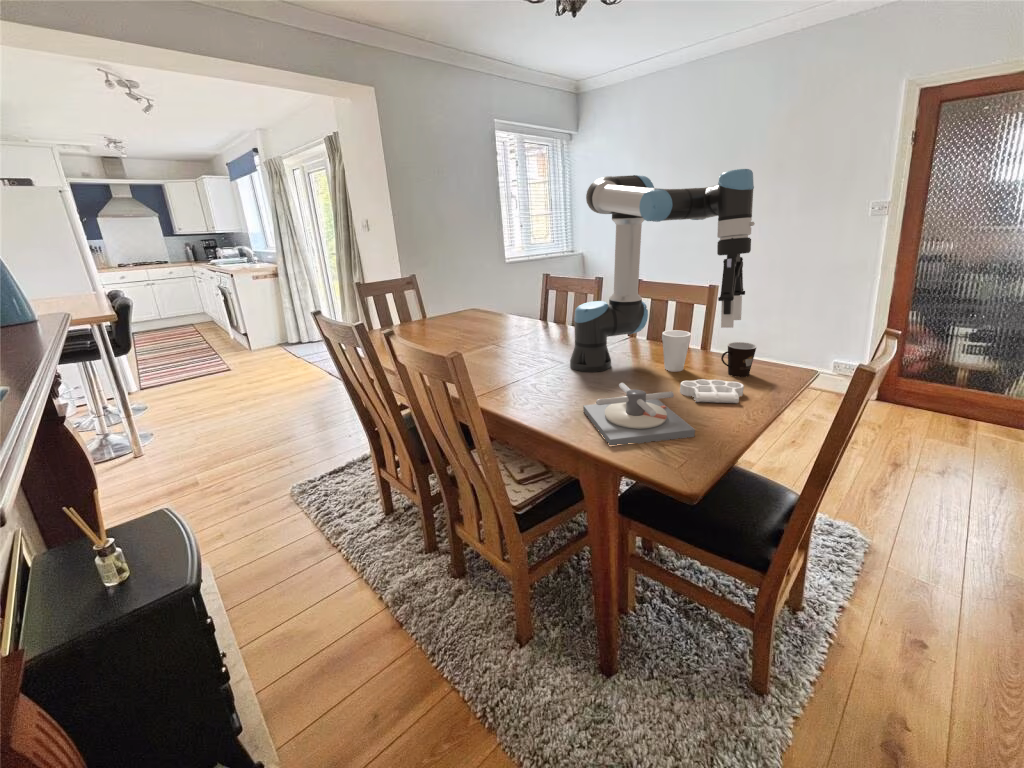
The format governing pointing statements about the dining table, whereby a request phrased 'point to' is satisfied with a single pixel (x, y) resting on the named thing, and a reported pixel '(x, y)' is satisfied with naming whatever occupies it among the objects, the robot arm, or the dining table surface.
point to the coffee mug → (739, 358)
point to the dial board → (623, 435)
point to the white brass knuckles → (712, 390)
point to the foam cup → (675, 349)
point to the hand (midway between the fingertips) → (731, 323)
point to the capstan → (635, 409)
